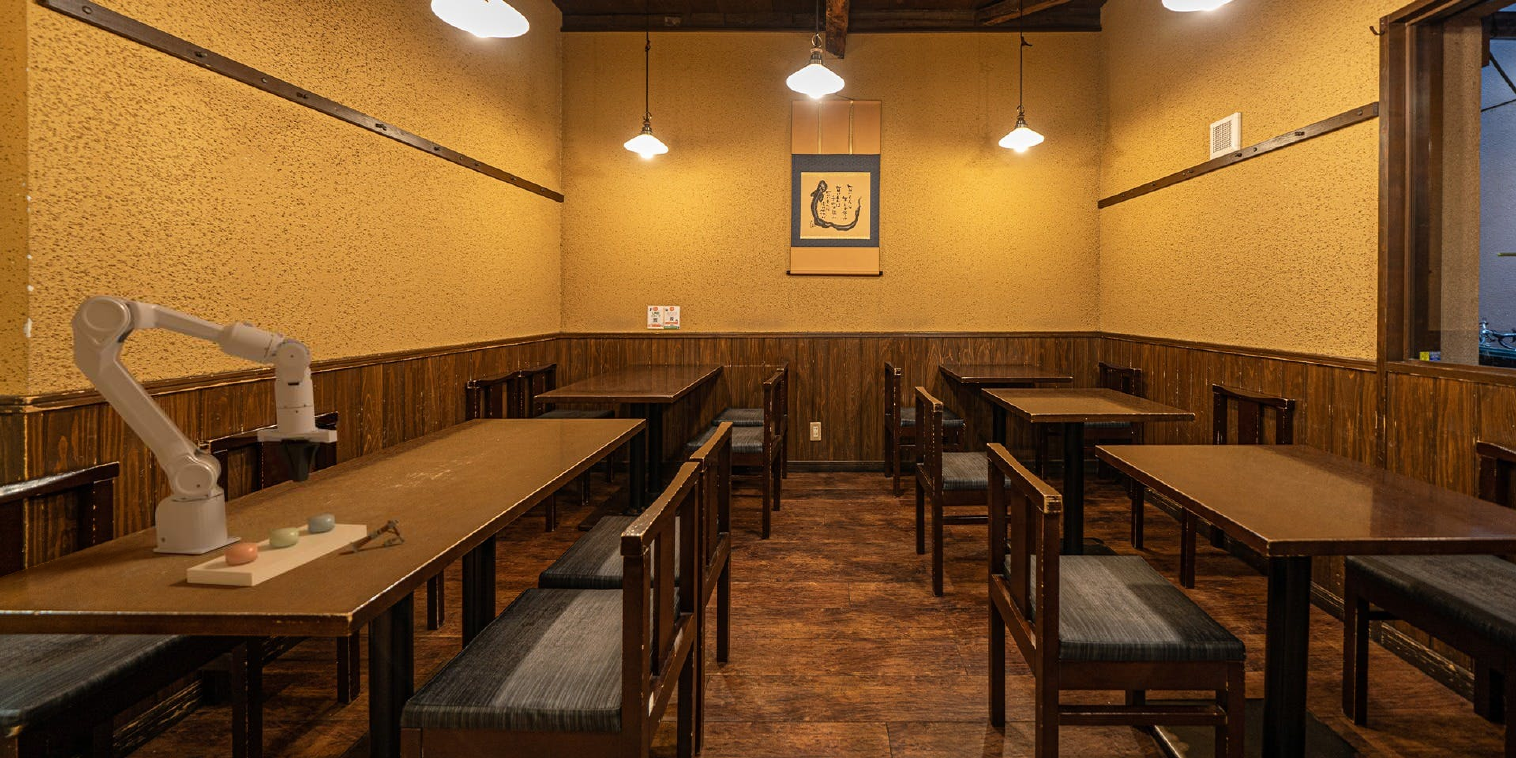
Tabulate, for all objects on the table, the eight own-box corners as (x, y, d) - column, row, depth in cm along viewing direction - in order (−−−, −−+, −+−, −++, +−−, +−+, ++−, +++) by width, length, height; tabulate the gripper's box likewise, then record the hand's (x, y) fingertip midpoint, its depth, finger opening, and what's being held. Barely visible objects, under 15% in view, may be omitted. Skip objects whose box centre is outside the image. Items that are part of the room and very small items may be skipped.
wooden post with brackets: (410, 538, 125) (397, 517, 123) (363, 566, 121) (349, 543, 120) (409, 536, 126) (395, 514, 125) (362, 563, 122) (348, 541, 121)
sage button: (263, 546, 117) (262, 534, 116) (283, 538, 121) (282, 527, 120) (285, 547, 116) (284, 535, 116) (304, 539, 120) (303, 527, 120)
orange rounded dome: (218, 563, 109) (217, 550, 109) (241, 554, 113) (240, 542, 112) (242, 564, 108) (241, 551, 108) (264, 555, 112) (263, 543, 112)
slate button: (302, 531, 124) (301, 520, 124) (320, 524, 128) (319, 513, 128) (323, 532, 124) (322, 521, 124) (340, 525, 128) (339, 514, 128)
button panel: (187, 582, 108) (186, 569, 107) (312, 533, 131) (311, 522, 131) (252, 586, 106) (251, 572, 106) (366, 536, 129) (366, 525, 129)
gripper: (347, 403, 133) (352, 476, 134) (277, 403, 136) (283, 475, 137) (318, 408, 126) (323, 485, 127) (245, 408, 129) (251, 483, 130)
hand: (300, 480), depth 132 cm, fingers closed
